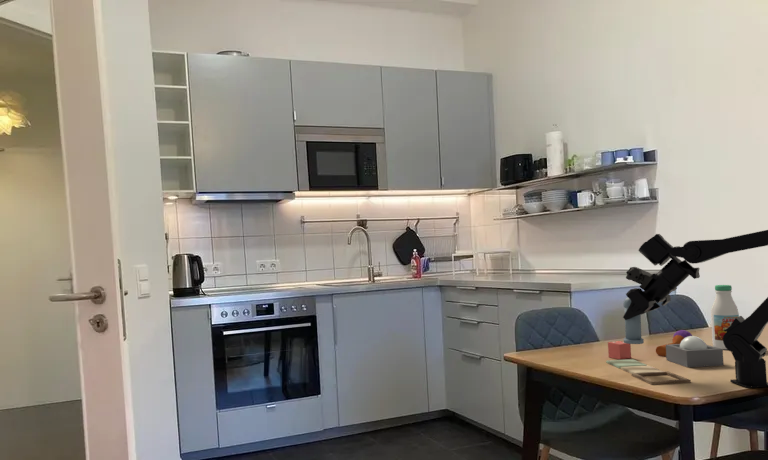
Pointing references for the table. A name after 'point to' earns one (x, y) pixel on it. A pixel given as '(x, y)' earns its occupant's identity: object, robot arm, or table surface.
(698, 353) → the grey open box
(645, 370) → the game track
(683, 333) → the maraca
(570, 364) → the table surface
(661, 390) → the table surface
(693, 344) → the dome
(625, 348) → the red block
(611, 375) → the table surface
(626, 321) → the pawn
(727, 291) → the milk bottle
